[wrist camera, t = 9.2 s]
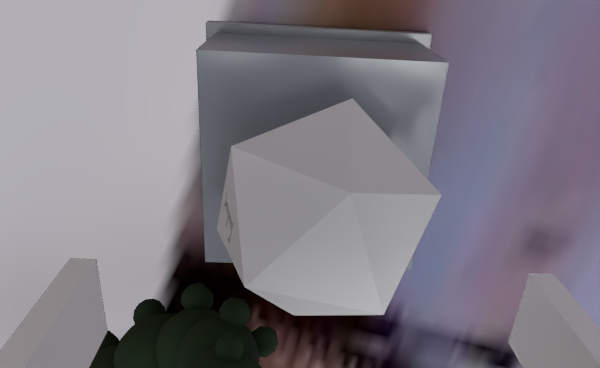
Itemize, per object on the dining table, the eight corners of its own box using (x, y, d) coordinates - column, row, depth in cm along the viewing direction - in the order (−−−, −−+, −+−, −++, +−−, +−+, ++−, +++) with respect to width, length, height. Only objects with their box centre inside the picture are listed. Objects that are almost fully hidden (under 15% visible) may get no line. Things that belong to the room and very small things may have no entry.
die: (328, 41, 21) (159, 133, 15) (504, 146, 19) (391, 309, 12) (289, 168, 27) (156, 273, 21) (418, 261, 24) (313, 411, 18)
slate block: (214, 214, 31) (196, 269, 25) (208, 20, 26) (184, 37, 20) (398, 222, 31) (418, 278, 26) (428, 32, 26) (462, 51, 20)
